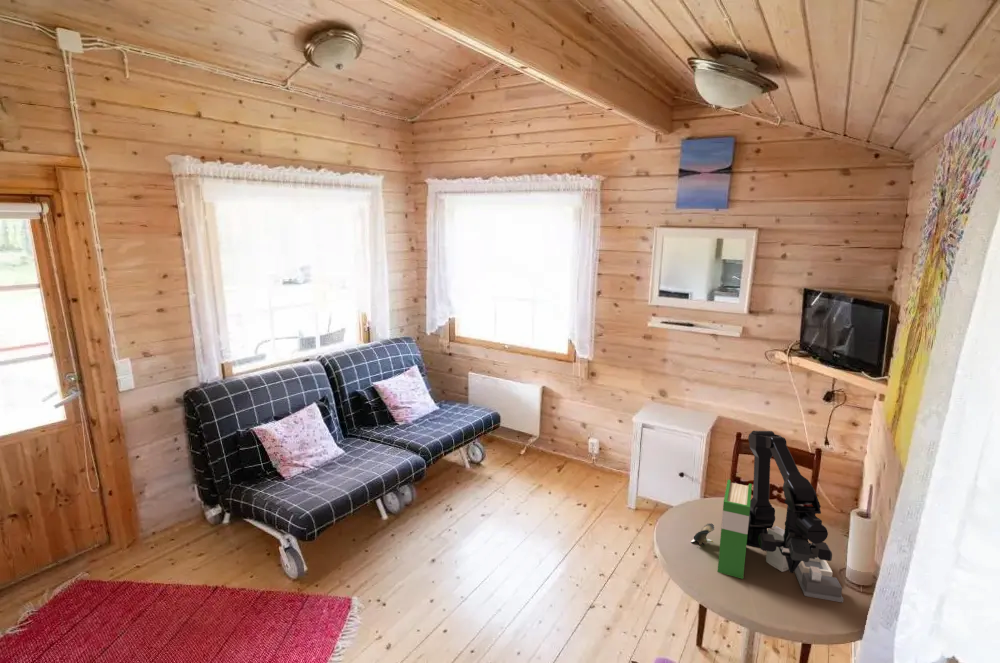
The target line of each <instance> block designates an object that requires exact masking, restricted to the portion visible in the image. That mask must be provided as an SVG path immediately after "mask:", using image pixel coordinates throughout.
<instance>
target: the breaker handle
mask: <svg viewBox="0 0 1000 663" xmlns="http://www.w3.org/2000/svg"><path fill="white" fill-rule="evenodd" d="M821 575H822V573H821V571H820V569H819V567H812V566H810V568H809V576H810V578H811V580H812V581H817V582H821Z"/></svg>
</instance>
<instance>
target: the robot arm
mask: <svg viewBox="0 0 1000 663" xmlns="http://www.w3.org/2000/svg"><path fill="white" fill-rule="evenodd" d="M747 440H748V443H749V444H748V445H749V449H750V450H751V451H752V452H751V453H752V454H753V455H754V456H753V457H754V461H753V462H754V463H753V483H752V486H753V488H752V490H753V491H752V492H753V493H752V497H751V502H750V514H749V524H748V534H747V544H746V546H750V547H751V546H752V547H759V548H760V549H761V550H762V551H763V552H764V551H765V552H767V551H770V552H774V551H775V550H776V547H779V549H780V552H781V554H782V555H783V556H785V557H786V561H787V564H788V568H789V570H788V571H789V574H794V573H795V572H794V571H795V569H796V568H797V566H798V565H799V563H800V562H801V561H804V562H809V560H810V558H811V559H815V558H817V557H818V558H819V559H820V560H826V561H828V562H831V561H832V560H833V552H832V550H831V548H830V547H829V545H828V544H827V543H826V542H825V541H826V540H827V538H828V535H829V532H828V530H827V528H826V526H824V525H823V520H822V519H821V518H820V517H817V516H816V514H817V515H818V514H819V515H821V514H822V511H821V507H822V506H821V504H820V501H819V498H818V495H817V492H816V489H815V488H814V487H813V485H812V483H811V482H810V481H809V479H808V478H806V477H805V476H803V475H802V474H801V472H800V471H799V469H798V466H797V464H796V462H795V460H794V458H793V456H792V454H791V452H790V449H789V448H788V446H787V440H786V438H785V437H783V436H782V435H781V434H775V432H774V431H772V430H752V431H751V432H750V433H749V434H748V439H747ZM772 457H773V459H774V461H775V463H776V466H777V468H778V470H779V472H780V475H781V478H782V479H783V484H782V490H783V495H784V498H785V500H784V501H783V502H784V503H785V504H786V506H787V507H786V514H785V515H786V516H785V521H784V530H785V532H784V535H783V538H784V541H782V540H775V539H774V536H773V535H772V534H768V529H769V528H772V527H774V524H775V522H776V509H775V507H773V505H772V504H771V502H770V486H771V483H770V480H771V478H770V477H771V458H772ZM805 505H806V506H805ZM807 505H808V506H807ZM810 505H811V506H810Z"/></svg>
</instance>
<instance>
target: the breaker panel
mask: <svg viewBox="0 0 1000 663" xmlns="http://www.w3.org/2000/svg"><path fill="white" fill-rule="evenodd" d="M810 566H812V567H819V569H820V571H821V573H822V575H821V582H817V581H812V580H811V578H810V576H809V568H810ZM793 573H794V574H795V577H796V579H797V581H798V584H799V586H800V589H801V591H802V593H803V596H804V597H808V598H809V597H810V598H816V599H820V600H826V601H833V602H839V603H844V597H843V596H842V592H843V587H842V585H841V583H840V582H839V579H838V578H837V577H836V576H835V577H833V571H832V568H831V567H830V565H829V563H828V562H827V560H820V559H819V558H818V557H817V558H815V559H811V558H810V560H809V562H804V561H801V562H800V563H799V565H798V566H797V568H796V569H795V571H794V572H793Z"/></svg>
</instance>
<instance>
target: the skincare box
mask: <svg viewBox="0 0 1000 663" xmlns="http://www.w3.org/2000/svg"><path fill="white" fill-rule="evenodd" d="M767 530H768V534H772V535H773V536H774V539H775V540H782V541H784V538H783V535H784V532H785V529H783V528H781V527H779V526H777V525H775V526H773V527H772V528H767ZM765 562H766V563H768V564H769V565H770V566H772V567H773V568H775V569H777V570H779V571H780V572H786V571H789V568H788V564H787V561H786V557H785V556H783V555H782V554H781V552H780V549H779V547H776V550H775V551H774V552H770V551H766V555H765Z"/></svg>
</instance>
